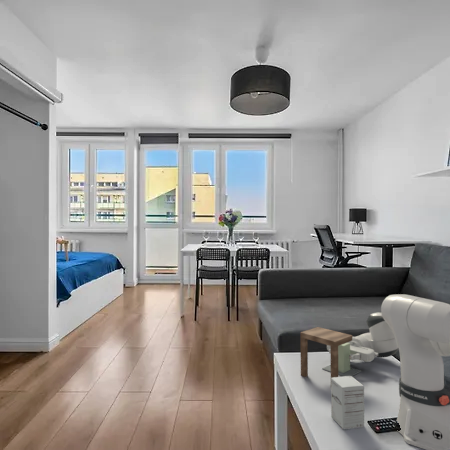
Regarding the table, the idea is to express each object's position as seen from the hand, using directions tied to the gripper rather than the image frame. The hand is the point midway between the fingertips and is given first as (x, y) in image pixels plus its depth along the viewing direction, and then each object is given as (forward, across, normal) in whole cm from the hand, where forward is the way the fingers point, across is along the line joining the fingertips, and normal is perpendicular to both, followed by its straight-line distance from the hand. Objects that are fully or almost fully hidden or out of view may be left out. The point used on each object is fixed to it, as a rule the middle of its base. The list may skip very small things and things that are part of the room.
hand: (340, 354), depth 148 cm
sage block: (-1, 0, -6) cm, 6 cm away
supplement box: (+33, -23, -7) cm, 41 cm away
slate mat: (-1, 0, -7) cm, 7 cm away
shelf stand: (+10, 0, -7) cm, 12 cm away
